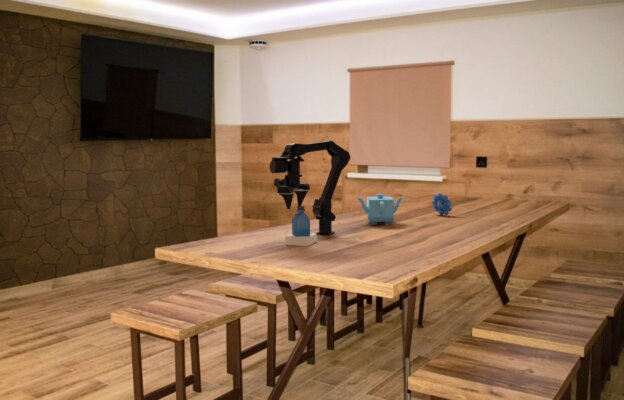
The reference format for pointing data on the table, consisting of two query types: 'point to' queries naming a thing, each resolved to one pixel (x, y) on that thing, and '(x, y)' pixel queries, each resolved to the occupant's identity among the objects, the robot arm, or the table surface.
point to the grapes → (441, 204)
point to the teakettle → (380, 208)
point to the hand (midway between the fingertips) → (294, 208)
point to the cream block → (301, 240)
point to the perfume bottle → (300, 223)
